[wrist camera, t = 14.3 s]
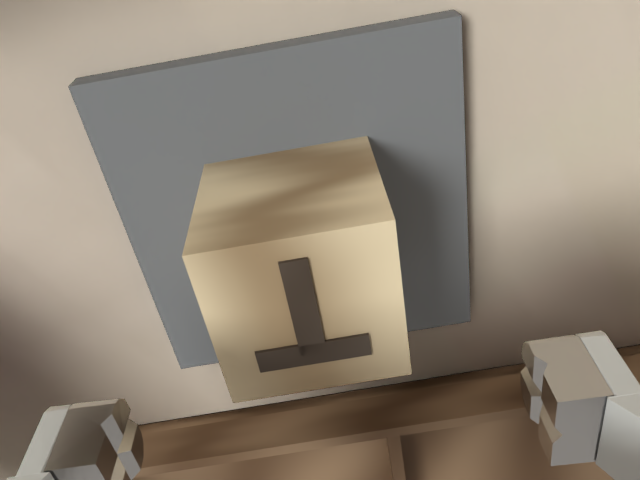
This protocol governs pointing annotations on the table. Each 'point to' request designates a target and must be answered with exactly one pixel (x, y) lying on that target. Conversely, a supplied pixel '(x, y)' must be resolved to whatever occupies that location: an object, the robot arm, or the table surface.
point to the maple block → (298, 270)
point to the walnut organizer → (370, 435)
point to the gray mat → (289, 133)
